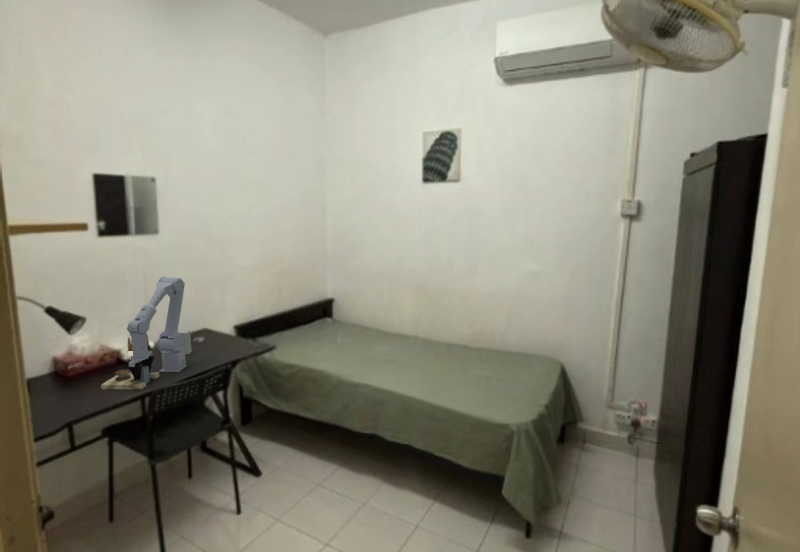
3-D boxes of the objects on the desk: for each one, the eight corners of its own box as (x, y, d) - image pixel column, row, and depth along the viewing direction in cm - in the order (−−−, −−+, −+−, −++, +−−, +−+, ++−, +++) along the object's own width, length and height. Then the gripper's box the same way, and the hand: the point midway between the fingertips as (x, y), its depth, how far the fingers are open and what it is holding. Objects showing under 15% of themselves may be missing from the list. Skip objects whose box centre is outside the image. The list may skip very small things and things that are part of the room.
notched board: (159, 376, 197) (158, 366, 196) (142, 389, 183) (141, 378, 182) (121, 376, 196) (120, 366, 196) (101, 389, 183) (100, 378, 182)
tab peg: (149, 381, 192) (148, 366, 191) (144, 384, 188) (143, 369, 187) (140, 381, 192) (139, 366, 191) (135, 384, 188) (134, 369, 187)
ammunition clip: (129, 360, 216) (127, 337, 214) (127, 360, 217) (125, 337, 215) (150, 354, 225) (149, 332, 223) (148, 354, 226) (146, 332, 224)
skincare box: (191, 352, 230) (190, 330, 228) (189, 354, 226) (187, 332, 224) (179, 352, 229) (178, 330, 227) (176, 355, 225) (175, 333, 223)
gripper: (140, 341, 194) (142, 370, 196) (120, 352, 180) (123, 383, 182) (155, 341, 194) (158, 370, 197) (137, 352, 180) (140, 383, 182)
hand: (142, 376), depth 189 cm, fingers open, 7 cm apart
